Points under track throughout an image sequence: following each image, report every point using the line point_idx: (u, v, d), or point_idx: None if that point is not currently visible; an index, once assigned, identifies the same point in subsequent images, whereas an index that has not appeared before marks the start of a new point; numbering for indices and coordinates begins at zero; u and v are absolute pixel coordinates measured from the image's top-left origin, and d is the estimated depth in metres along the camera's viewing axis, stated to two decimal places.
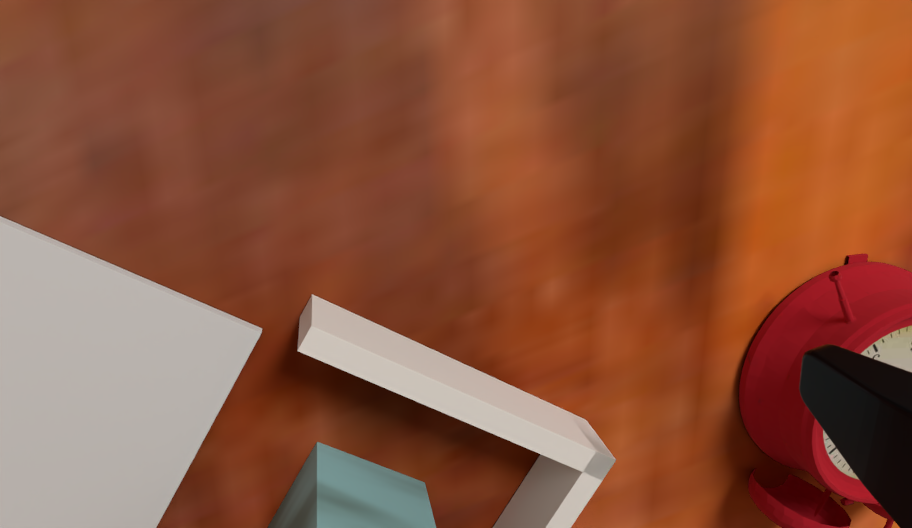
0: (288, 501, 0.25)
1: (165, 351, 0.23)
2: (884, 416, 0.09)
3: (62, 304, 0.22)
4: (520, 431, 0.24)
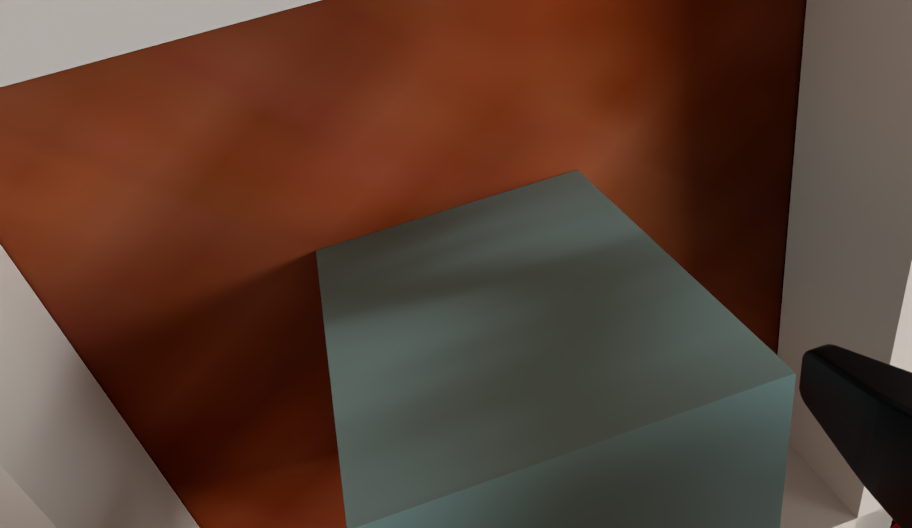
0: (462, 225, 0.11)
1: None
2: (884, 416, 0.09)
3: None
4: None
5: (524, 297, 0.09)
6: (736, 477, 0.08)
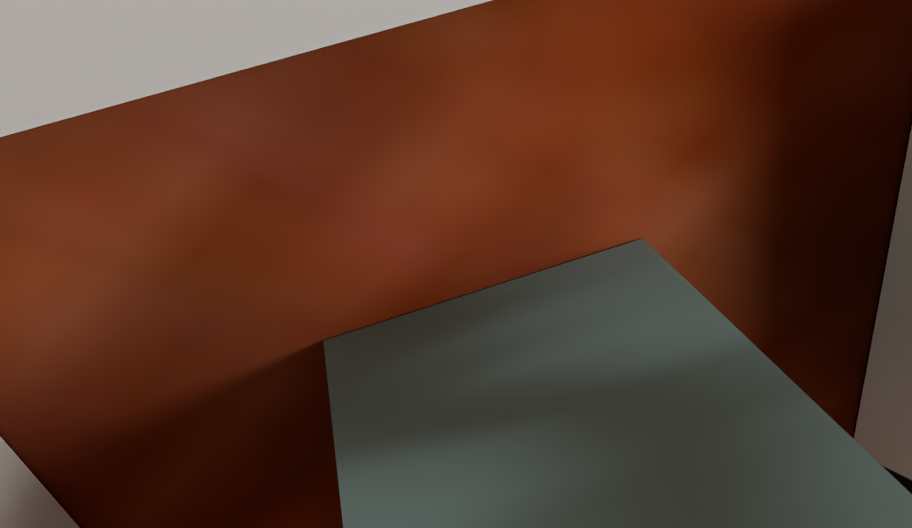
0: (507, 315, 0.09)
1: None
2: None
3: None
4: None
5: (601, 437, 0.07)
6: None
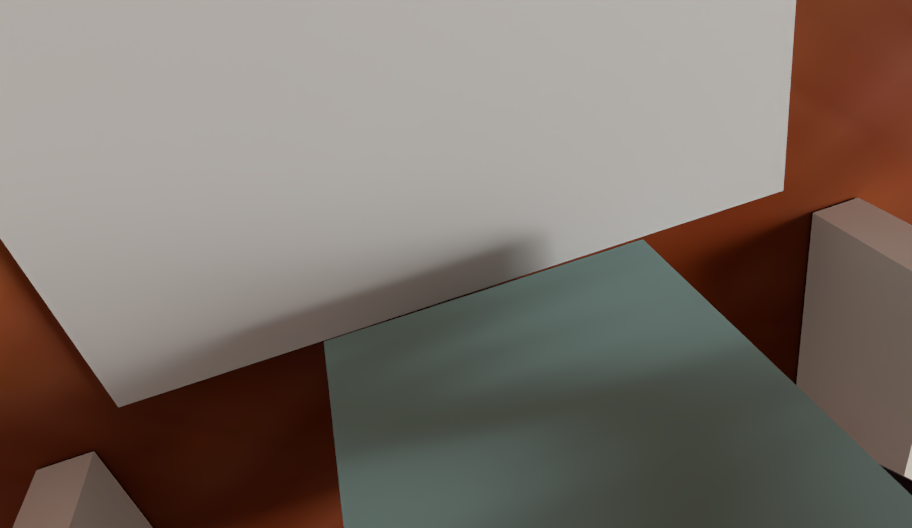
0: (507, 316, 0.09)
1: (673, 79, 0.10)
2: None
3: None
4: None
5: (602, 437, 0.07)
6: None
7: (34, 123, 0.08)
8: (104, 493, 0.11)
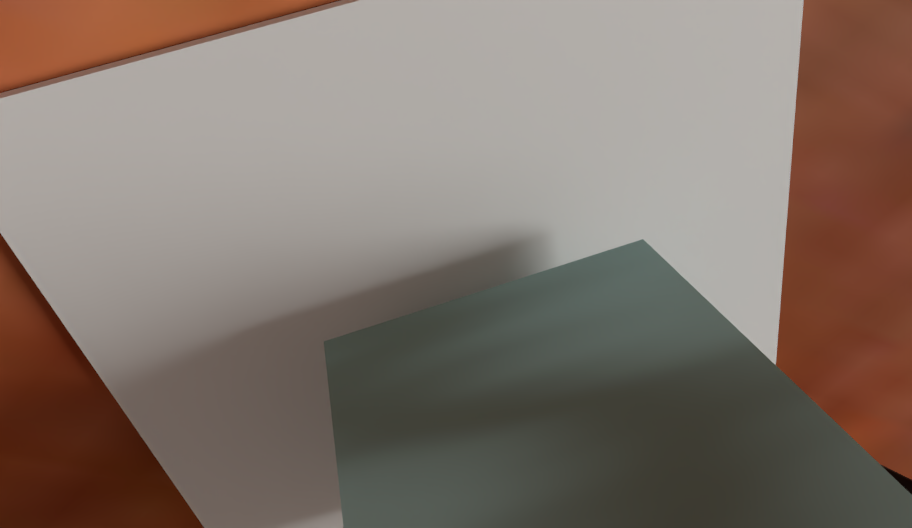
0: (507, 316, 0.09)
1: None
2: None
3: (694, 259, 0.12)
4: None
5: (602, 438, 0.07)
6: None
7: (250, 481, 0.12)
8: None
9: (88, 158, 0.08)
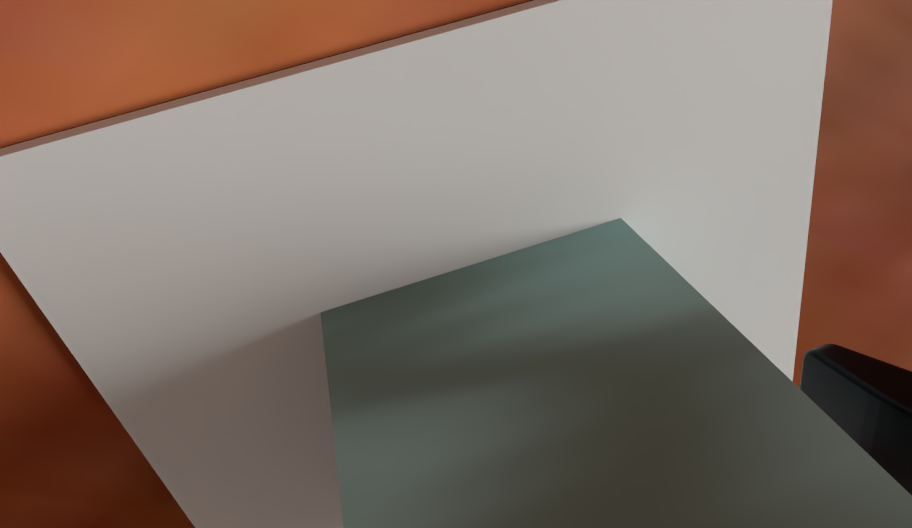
0: (492, 288, 0.10)
1: None
2: (885, 416, 0.09)
3: (713, 295, 0.12)
4: None
5: (574, 392, 0.07)
6: None
7: (266, 516, 0.12)
8: None
9: (109, 207, 0.08)
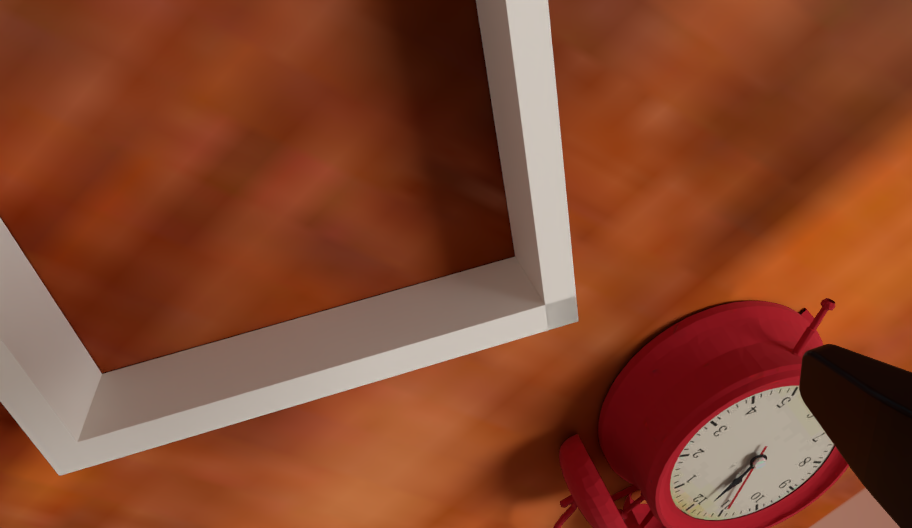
0: None
1: None
2: (884, 416, 0.09)
3: None
4: (549, 205, 0.18)
5: None
6: None
7: None
8: None
9: None
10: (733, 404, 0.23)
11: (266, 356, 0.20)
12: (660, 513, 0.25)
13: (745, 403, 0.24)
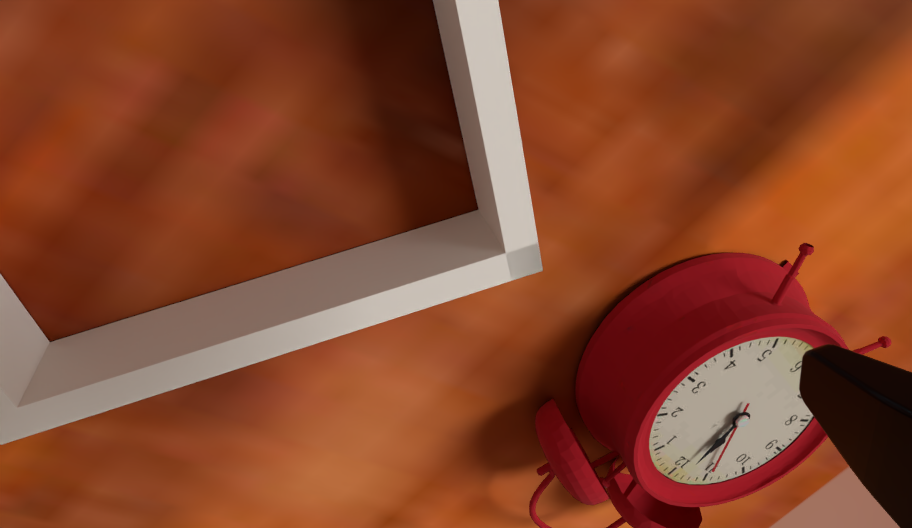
0: None
1: None
2: (884, 416, 0.09)
3: None
4: (502, 143, 0.17)
5: None
6: None
7: None
8: None
9: None
10: (710, 358, 0.22)
11: (217, 316, 0.19)
12: (640, 477, 0.24)
13: (724, 357, 0.22)
